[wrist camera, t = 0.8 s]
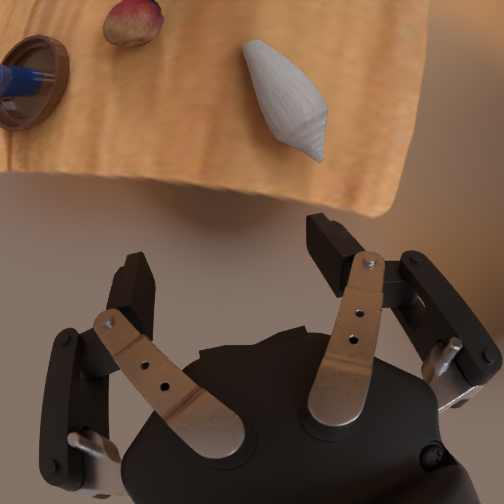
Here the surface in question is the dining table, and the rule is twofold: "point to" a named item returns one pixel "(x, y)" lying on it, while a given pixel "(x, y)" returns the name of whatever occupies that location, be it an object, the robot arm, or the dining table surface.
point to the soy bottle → (19, 81)
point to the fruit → (133, 22)
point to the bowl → (52, 87)
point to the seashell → (287, 99)
